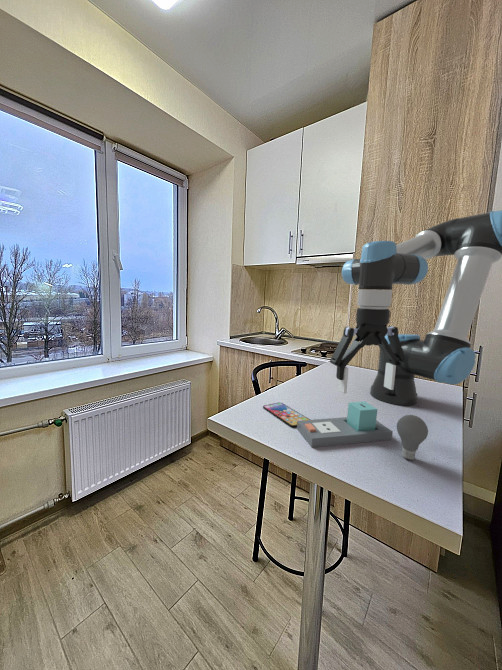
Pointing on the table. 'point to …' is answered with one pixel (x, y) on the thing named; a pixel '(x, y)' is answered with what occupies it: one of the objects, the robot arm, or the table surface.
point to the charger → (361, 416)
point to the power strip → (339, 432)
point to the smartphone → (285, 414)
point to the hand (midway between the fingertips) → (365, 389)
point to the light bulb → (411, 434)
